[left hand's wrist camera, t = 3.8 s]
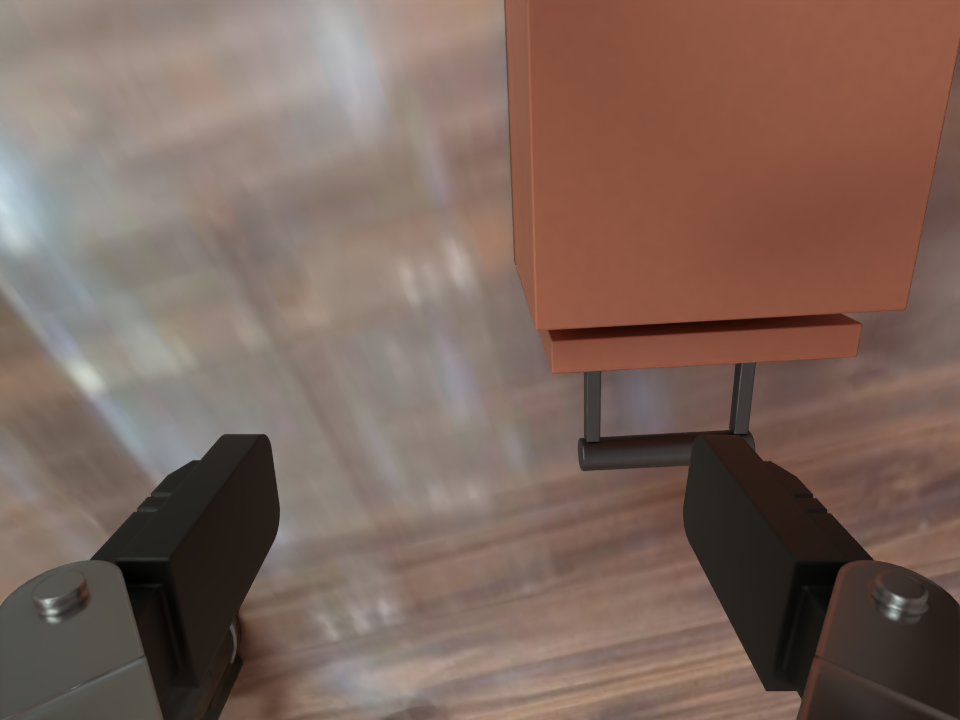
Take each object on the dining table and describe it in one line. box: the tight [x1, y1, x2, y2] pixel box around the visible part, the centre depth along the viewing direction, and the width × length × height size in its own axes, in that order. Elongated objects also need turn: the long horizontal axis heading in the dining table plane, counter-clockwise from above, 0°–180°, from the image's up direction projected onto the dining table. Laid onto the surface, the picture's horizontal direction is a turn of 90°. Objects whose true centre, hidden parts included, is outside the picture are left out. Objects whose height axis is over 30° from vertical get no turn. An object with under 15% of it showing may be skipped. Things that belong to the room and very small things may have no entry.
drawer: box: [539, 313, 862, 471], centre depth 22 cm, size 24×10×9 cm, turn 3°
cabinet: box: [504, 0, 960, 331], centre depth 20 cm, size 20×12×11 cm, turn 3°
